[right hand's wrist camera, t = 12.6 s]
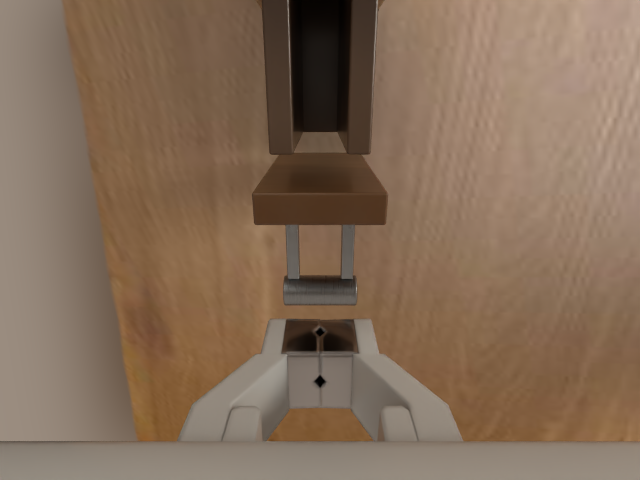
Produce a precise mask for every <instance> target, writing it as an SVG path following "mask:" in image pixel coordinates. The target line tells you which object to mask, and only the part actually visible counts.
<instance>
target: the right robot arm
mask: <svg viewBox="0 0 640 480" xmlns="http://www.w3.org/2000/svg"><path fill="white" fill-rule="evenodd" d="M292 408H348V409H351V411H352V412H353V414H354V415H355V416H356V418H357V419H358V420H359V422H360V423H361V424H362V426H363V427H364V428H365V430H366V431H367V432H368V434H369V435H370V436H371V438H372V439H373V440H374V441H267V439H268V438H269V437H270V435H271V434H272V433H273V431H274V430H275V429H276V427H277V426H278V425H279V423H280V422H281V421H282V419H283V418H284V417H285V415H286V414H287V413H288V411H289V409H292ZM0 480H640V441H463V440H462V437H461V435H460V432H459V430H458V428H457V425H456V423H455V420H454V418H453V415H452V413H451V411H450V408H449V406H448V404H446V403H445V402H444V401H443V400H441V399H440V398H439V397H438V396H436V395H435V394H434V393H433V392H431V391H430V390H429V389H428V388H426V387H425V386H424V385H423V384H421V383H420V382H419V381H418V380H416V379H415V378H414V377H413V376H411V375H410V374H409V373H408V372H406V371H405V370H404V369H403V368H401V367H400V366H399V365H398V364H396V363H395V362H394V361H393V360H391V359H390V358H389V357H387V356H386V355H385V354H379V350H378V346H377V342H376V338H375V333H374V329H373V325H372V321H371V319H370V318H369V319H345V320H320V319H270V320H269V321H268V324H267V329H266V333H265V337H264V342H263V346H262V350H261V354H255V355H254V356H253V357H251V358H250V359H249V360H247V361H246V362H245V363H244V364H242V365H241V366H240V367H239V368H237V369H236V370H235V371H234V372H232V373H231V374H230V375H229V376H227V377H226V378H225V379H224V380H222V381H221V382H220V383H219V384H217V385H216V386H215V387H213V388H212V389H211V390H210V391H208V392H207V393H206V394H205V395H203V396H202V397H201V398H200V399H198V400H197V401H196V402H195V403H193V404H192V406H191V409H190V411H189V413H188V416H187V418H186V421H185V423H184V425H183V428H182V430H181V432H180V435H179V437H178V440H177V441H0Z"/></svg>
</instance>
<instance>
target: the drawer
mask: <svg viewBox="0 0 640 480" xmlns="http://www.w3.org/2000/svg"><path fill="white" fill-rule="evenodd" d="M377 15H378V0H262V18H263V37H264V56H265V75H266V94H267V113H268V133H269V152H270V154H272V155H279V156H278V157H277V159H276V160H275V162H274V163H273V164H272V166H271V167H270V169H269V170H268V172H267V173H266V175H265V176H264V177H263V179H262V180H261V182H260V183H259V185H258V186H257V188H256V189H255V190H254V192H253V194H252V200H253V214H254V223H255V225H286V250H287V275H286V276H285V277H284V284H283V300H284V305H356V303H357V279H356V276H355V275H353V261H354V234H355V225H385V224H386V217H387V203H388V193H387V192H386V190H385V189H384V187H383V186H382V184H381V183H380V181H379V180H378V178H377V177H376V176H375V174H374V173H373V171H372V170H371V168H370V167H369V165H368V164H367V162H366V161H365V159H364V158H363V156H362V155H361V154H370V152H371V133H372V113H373V94H374V74H375V55H376V35H377ZM303 132H338V134H339V136H340V139H341V141H342V143H343V145H344V147H345V149H346V152H347V153H293V152H294V150H295V148H296V146H297V144H298V142H299V140H300V137H301V135H302V133H303ZM299 225H342V231H341V275H300V256H299Z"/></svg>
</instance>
